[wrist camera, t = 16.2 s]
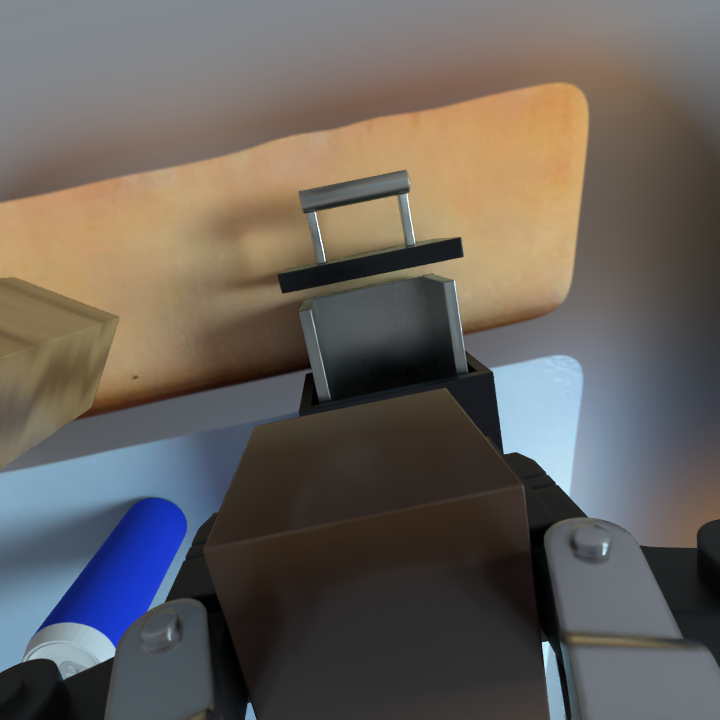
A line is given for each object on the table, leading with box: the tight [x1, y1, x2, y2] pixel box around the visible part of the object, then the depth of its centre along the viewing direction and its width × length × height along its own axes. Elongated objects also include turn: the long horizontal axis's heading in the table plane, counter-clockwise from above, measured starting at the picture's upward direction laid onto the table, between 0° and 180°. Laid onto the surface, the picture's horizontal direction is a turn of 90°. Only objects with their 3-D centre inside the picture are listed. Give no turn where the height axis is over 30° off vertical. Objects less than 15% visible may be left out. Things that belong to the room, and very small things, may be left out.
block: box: [203, 388, 550, 720], centre depth 9 cm, size 4×4×4 cm
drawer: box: [278, 170, 468, 404], centre depth 33 cm, size 17×11×7 cm, turn 11°
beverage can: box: [22, 498, 187, 680], centre depth 33 cm, size 5×5×15 cm
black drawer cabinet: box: [299, 351, 504, 454], centre depth 36 cm, size 14×13×9 cm
